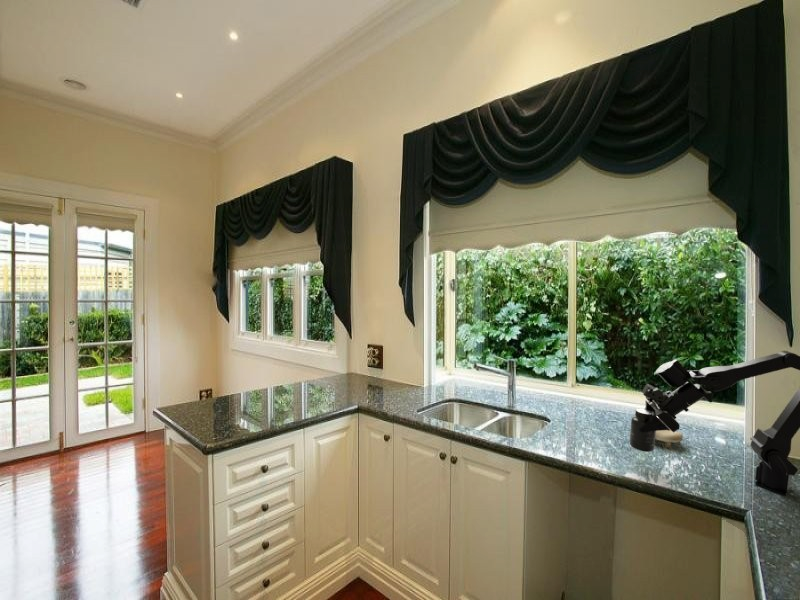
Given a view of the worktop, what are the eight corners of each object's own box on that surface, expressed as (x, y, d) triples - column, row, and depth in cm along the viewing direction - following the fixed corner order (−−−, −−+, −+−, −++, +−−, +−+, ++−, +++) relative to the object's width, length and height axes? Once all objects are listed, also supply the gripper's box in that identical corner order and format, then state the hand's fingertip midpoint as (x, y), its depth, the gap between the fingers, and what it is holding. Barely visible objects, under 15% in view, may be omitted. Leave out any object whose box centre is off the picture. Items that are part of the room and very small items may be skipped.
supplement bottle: (624, 444, 124) (626, 408, 123) (639, 441, 127) (641, 406, 126) (644, 454, 118) (646, 416, 117) (659, 450, 120) (662, 413, 119)
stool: (688, 443, 136) (688, 434, 136) (672, 451, 130) (673, 442, 130) (651, 431, 147) (652, 422, 146) (635, 438, 140) (636, 428, 140)
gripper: (654, 370, 127) (615, 397, 133) (669, 386, 110) (623, 417, 115) (681, 396, 125) (640, 423, 130) (700, 417, 108) (651, 447, 113)
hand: (638, 426), depth 122 cm, fingers closed on supplement bottle, 7 cm apart
